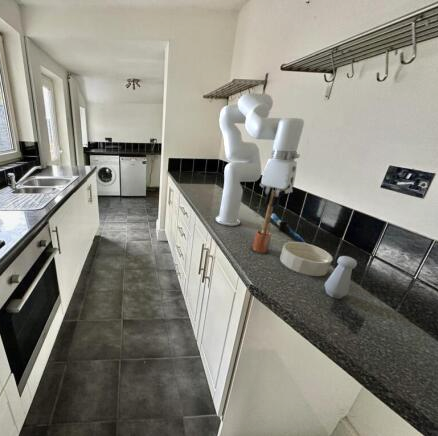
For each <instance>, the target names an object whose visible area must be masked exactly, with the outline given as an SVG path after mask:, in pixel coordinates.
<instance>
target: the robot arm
mask: <svg viewBox="0 0 438 436" xmlns="http://www.w3.org/2000/svg"><path fill="white" fill-rule="evenodd" d="M273 104H274V100H273V97H272V95H270V94H268V93H255V92H250V93H249V92H248V93H245V94H243V95H241V96H240V98H239V99H238V101H237V104H228V105H225V106H223V108H222V109H221V111H220V114H219V128H220V130H221V133H222V136H223V144H224V153H225V158H226V160H228V161H229V163H227V164H226V165H225V167H224V170H223V173H224V174H223V179H224V180H223V181H224V183H223V190H222V197H221V202H220V208H219V213H218V215H217V216H215V221H216V222H217V223H218V224H220V225H222V226H223V225H224V226H229V227H235V226H239V225H240V224H241V220H240V219H239V213H240V210H241V203H242V199H243V193H244V190H243V187H242V185H241V183H243V182H245V183H246V182H247V183H251V182H253V183H254V182H257V181H258V180H259V179H260V178H261V181H260V183H259V186H260V187H261V188H262V189H263V190H264V192H265V198H264V199H265V201H264V205H265V206H268V204H269V200H270V196H271V192H272V190H274V188H275V189H276V190H275V191H276V194H275V196H274V197H273V200H272V204H271V206H272V207H273V208H274V207H278V205H280V204H279V203H280V199H281V197H282V196H283V195H286V194H291V193H293V192H294V191H293V187H294V184H295V181H296V175H297V164H298V161H297V160H296V159H300V154H299V153H298V148H299V144H300V140H301V137H302V133H303V128H304V126H305V120H304V119H303V118H300V117H287V118H286V117H285V118H281V117H269V115H270V113H271V110H272V108H273ZM236 124H240V125H241V124H244V126H245V131H246V132H247V133H248V134H249V135H250V136H251V137H252V138H254V139H256V140H270V141H274V142H273V145H272V150H271V155H270V158H268V159H267V162H266V164H265V167H264V169H263V173H262V164H261V163H262V162H261V155H260V149H259V146H258V145H257V144H256V143H254V142H251V141H250V142H248V141H243V137H242V132H241V130H240V129H239V128H238V126H237V125H236ZM230 161H231V162H230Z"/></svg>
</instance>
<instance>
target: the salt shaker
mask: <svg viewBox="0 0 438 436" xmlns="http://www.w3.org/2000/svg"><path fill="white" fill-rule="evenodd" d="M336 263H337V266H336V267H335V269H334V270H333V271H332V273H331V274H330V276H328V278H327V280H326V281H325V282H324V285H323V286H324V290H325V294H326V295H328V296H330V297H331V298H333V299H338V300H340V299H341V298H343V297H345V296H347V295H348V293H349V289H350V284H351V279H352V271H353V269H355V268H356V267H357V265H358V262H357V260H356V259H355V258H352V257H350V256H348V255H340V256H339V257H338V259H337V262H336Z"/></svg>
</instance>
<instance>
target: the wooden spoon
mask: <svg viewBox="0 0 438 436" xmlns="http://www.w3.org/2000/svg"><path fill="white" fill-rule="evenodd" d="M275 194H276V190H274V189H273V190H272V192H271V196H270V200H269V204H268V205H267V209H266V213H265V217H264V221H262V223H261V225H260V226H261V227H260V233H261V234H262V235H266V236H267V235H268V233H270V228H271V223H270V222H271V219H272V218H271V214H272V212H273V208H274V207H272V206H271V204H272V200H273V197H274V196H275Z"/></svg>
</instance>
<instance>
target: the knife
mask: <svg viewBox="0 0 438 436" xmlns="http://www.w3.org/2000/svg"><path fill="white" fill-rule="evenodd" d="M270 219H272V220H273V222H275V224H277V225H278V226H279V229H278V230H279V231H282V232H285V233H287V235H289V236H290V237H291V238H292V239H293V240H294V241H295V242H301V243H306V241H305V240H304V238H303V237H302V236H300V235H299V234H298V233H297V232H295V231H294V230H293V229H292V228H291V227H290V226H289V224H288V222H287V221H282V220H281V219H280V218H279V216H277V214H276V213H275V212H273V211H272V214H271V218H270Z"/></svg>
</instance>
